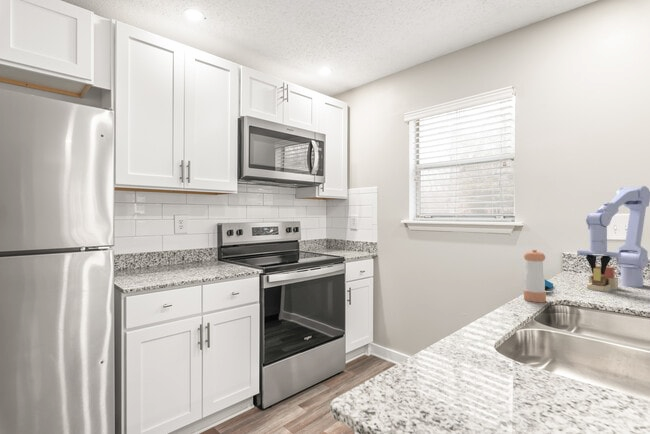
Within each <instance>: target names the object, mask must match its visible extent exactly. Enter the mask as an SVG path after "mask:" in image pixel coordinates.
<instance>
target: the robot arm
mask: <svg viewBox="0 0 650 434" xmlns="http://www.w3.org/2000/svg"><path fill="white" fill-rule="evenodd" d="M615 193H616V195H615V196H614V197H613V198H612V200H611V201H610V202H604V203H603V204H602V206H601V205H600V207H599V208H597V210H596V211H594V212H590V213H588V215H587V216H586V218H585V222H586V225H587V229H588V230H589V250H580V249H579V250H576V251H577V256H586V257H585V259H586V261H587V262H588V264H589V266H590V269H591V273H592V274H593V268H596V266H597V257H600V258H599V259H600V266H601V274H605V270H606V267H608V265H609V263H610V261H611V259H612V258H614V259H615V262H616V264H617V265H618V267H620V286H622V287H628V288H643V286H644V271H643V269H645V267H646V266H647V265H648V264H649V257H648V250H646V248H644V247H643V246H642V245H641V242H642V238H643V230H644V223H645V216H646V209H647V208H648V207H650V190H649V188H648V187H647V186H646V185H642V186H633V187H632V186H631V187H620V188H618V190H616V192H615ZM621 206H624V207H625V208H628V209H629V216H628V222H627V229H626V235H625V236H626V237H625V241H624V242H625V243H624V244H622V245H621V246H619V247H618V248H617V252H614V251H613V252H612V251H608V226H609V225H610V224H611V221H612V219H613V217H614V216H615V215H616V214H617V213H618V212H619V208H620V207H621Z"/></svg>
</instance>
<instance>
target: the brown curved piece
mask: <svg viewBox="0 0 650 434" xmlns="http://www.w3.org/2000/svg"><path fill="white" fill-rule="evenodd" d="M590 276H591V280H592V285H597V286H606V285H609V282H608V279H606V276H604V277H602V281H596V280H594V278H593V276H592V275H590Z"/></svg>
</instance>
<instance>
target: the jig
mask: <svg viewBox="0 0 650 434" xmlns="http://www.w3.org/2000/svg"><path fill="white" fill-rule="evenodd" d="M591 276H593V274H591V275H589V276H588V283H587V284H586V285H587V287H585V288H583V290H589V291H598V292H605V293H611V292H613V291H617V290H618V289H620V287H619V277H615V279H613V278H608V282H609V285H606V286H597V285H592V280H591Z"/></svg>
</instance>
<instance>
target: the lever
mask: <svg viewBox="0 0 650 434" xmlns="http://www.w3.org/2000/svg"><path fill="white" fill-rule="evenodd" d="M544 280H545V289H546V288H547V289H551V288H553V287H554V283H552V282H551V281H549V280H547V279H545V278H544Z"/></svg>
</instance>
